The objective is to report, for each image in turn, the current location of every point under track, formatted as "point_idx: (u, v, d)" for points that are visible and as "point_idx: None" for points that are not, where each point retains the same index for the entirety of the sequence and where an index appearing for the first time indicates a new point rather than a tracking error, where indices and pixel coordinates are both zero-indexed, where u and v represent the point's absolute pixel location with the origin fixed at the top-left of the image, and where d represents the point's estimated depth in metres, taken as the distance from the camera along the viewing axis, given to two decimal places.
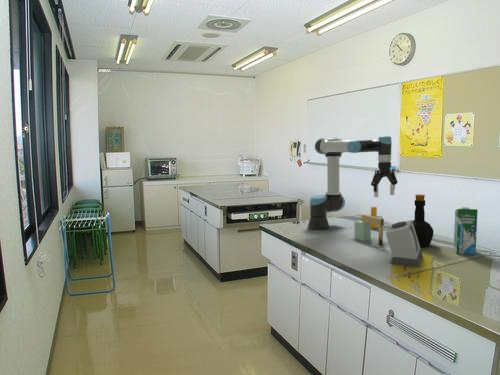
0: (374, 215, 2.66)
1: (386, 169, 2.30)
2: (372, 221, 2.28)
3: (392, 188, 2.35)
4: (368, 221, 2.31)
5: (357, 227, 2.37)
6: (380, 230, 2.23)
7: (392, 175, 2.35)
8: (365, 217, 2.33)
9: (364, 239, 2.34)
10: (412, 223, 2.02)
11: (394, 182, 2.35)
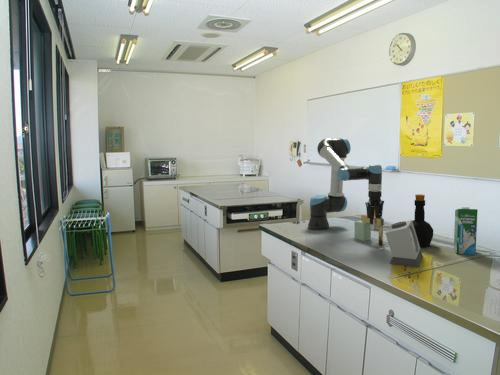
0: (374, 215, 2.66)
1: (376, 198, 2.25)
2: None
3: None
4: (368, 221, 2.31)
5: (357, 227, 2.37)
6: (380, 230, 2.23)
7: (380, 207, 2.29)
8: (365, 217, 2.33)
9: (364, 239, 2.34)
10: (412, 223, 2.02)
11: (379, 215, 2.27)
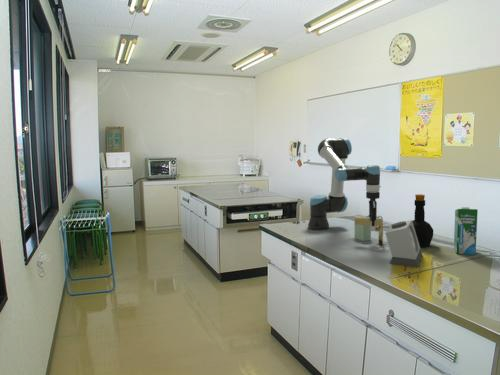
0: None
1: None
2: None
3: None
4: (365, 223, 2.26)
5: (357, 227, 2.37)
6: (381, 230, 2.23)
7: None
8: (360, 219, 2.26)
9: (364, 239, 2.34)
10: (412, 223, 2.02)
11: None
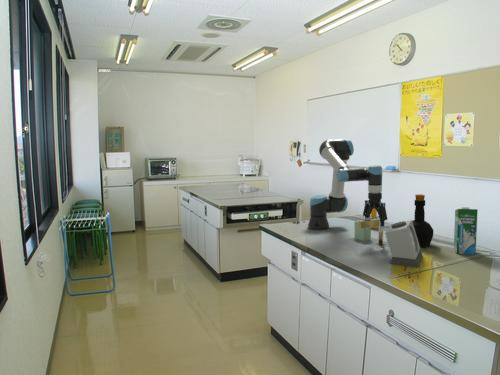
0: (374, 215, 2.66)
1: None
2: (374, 224, 2.20)
3: None
4: (369, 225, 2.19)
5: (357, 227, 2.37)
6: None
7: (367, 207, 2.25)
8: (366, 222, 2.18)
9: (364, 239, 2.34)
10: (412, 223, 2.02)
11: None
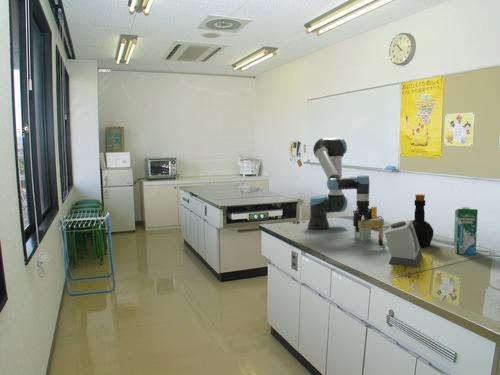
0: (374, 215, 2.66)
1: (364, 207, 2.35)
2: (374, 224, 2.20)
3: None
4: (369, 225, 2.19)
5: None
6: (382, 230, 2.23)
7: (369, 215, 2.39)
8: (366, 222, 2.18)
9: (364, 239, 2.34)
10: (412, 223, 2.02)
11: None
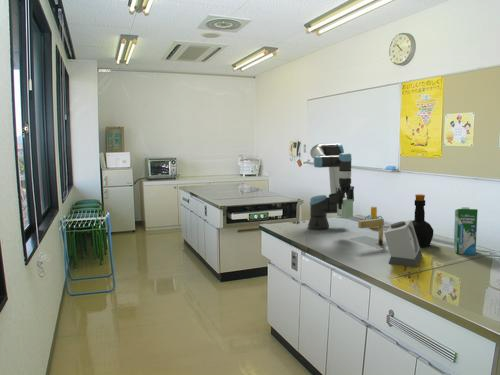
0: (374, 215, 2.66)
1: (346, 185, 2.38)
2: (374, 224, 2.20)
3: None
4: (369, 225, 2.19)
5: None
6: (382, 230, 2.23)
7: (351, 192, 2.42)
8: (366, 222, 2.18)
9: (346, 216, 2.38)
10: (412, 223, 2.02)
11: None
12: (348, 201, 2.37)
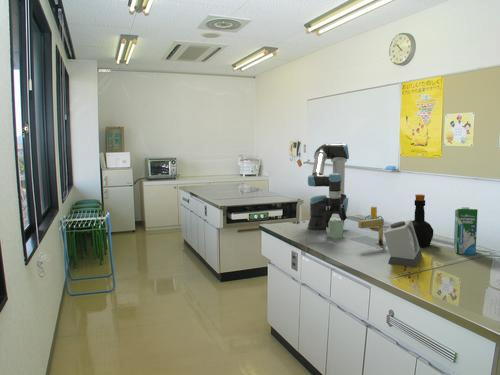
0: (374, 215, 2.66)
1: (336, 205, 2.43)
2: (374, 224, 2.20)
3: None
4: (369, 225, 2.19)
5: None
6: (382, 230, 2.23)
7: (342, 210, 2.47)
8: (366, 222, 2.18)
9: None
10: (411, 223, 2.02)
11: (343, 218, 2.46)
12: (337, 223, 2.41)
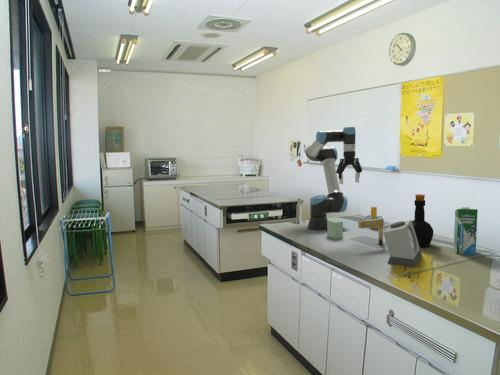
0: (374, 215, 2.66)
1: (351, 158, 2.44)
2: (374, 224, 2.20)
3: (357, 176, 2.49)
4: (369, 225, 2.19)
5: (329, 226, 2.45)
6: (382, 230, 2.23)
7: (357, 164, 2.48)
8: (366, 222, 2.18)
9: None
10: (411, 223, 2.02)
11: (359, 170, 2.48)
12: (337, 223, 2.41)
